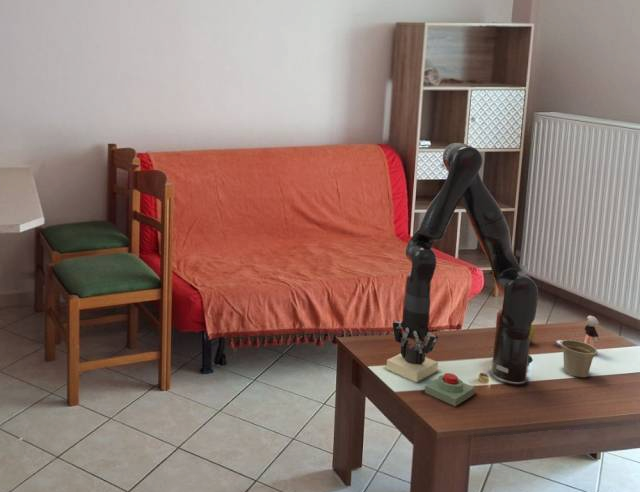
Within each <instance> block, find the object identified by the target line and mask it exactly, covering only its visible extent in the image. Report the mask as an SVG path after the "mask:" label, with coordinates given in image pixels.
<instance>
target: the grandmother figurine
mask: <svg viewBox="0 0 640 492" xmlns="http://www.w3.org/2000/svg"><path fill="white" fill-rule="evenodd" d="M586 319H587V320H586V325H585V327H584V330H583V334H585V337H584V342H583V343H586V344H589V345H591V346H593V347H594V348H595V343H599V341H600V340H599V337H600V335H599V334H598V331H597V329H596V326H597V325H599V324H600V322H599V320H598V318H597V317H595V316H593V315H588V316H587V317H586Z"/></svg>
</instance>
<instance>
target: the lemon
mask: <svg viewBox="0 0 640 492" xmlns="http://www.w3.org/2000/svg"><path fill="white" fill-rule="evenodd" d="M534 337H535V328H534V325H533V324H532V326H531V335H530V342H531V341H532V340H533V339H534Z"/></svg>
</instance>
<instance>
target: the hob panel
mask: <svg viewBox="0 0 640 492" xmlns="http://www.w3.org/2000/svg"><path fill="white" fill-rule="evenodd" d="M438 365H439V362H438V361H437V360H435V359H432V358H429V357H426V356H425V361H424V362H423V363H422V364H411V363H408V362H406V361H405V358H403V357H402V355H401V352H400V353H398V354H396V355H394V356H392V357H390V358H388V359H387V360H386V368H385V369H386V370H387V371H390V372H393V373H395V374H396V375H398V376H401V377H403V378H405V379H408V380H410V381H413V382H414V383H418V382H420V381H422V380H424V379H425V378H427V377H429V376H431V375H433V374H435V373H436V372H438Z"/></svg>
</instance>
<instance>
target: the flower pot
mask: <svg viewBox="0 0 640 492" xmlns="http://www.w3.org/2000/svg"><path fill="white" fill-rule="evenodd" d="M560 345H561V348H562V351H563V354H562V355H563V370H564V372H565V373H567V374H568V375H570V376H573V377H579V378H587V377H588V376H589V373H590V369H591V366H592V362H593V359H594V358H595V356H596V354H597V353H598V350H597V348H596V347H595V346H594V347H593V346H591V345H589V344H586V343H584V342H583V341H579V340H575V339H564V340H561V342H560Z"/></svg>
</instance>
